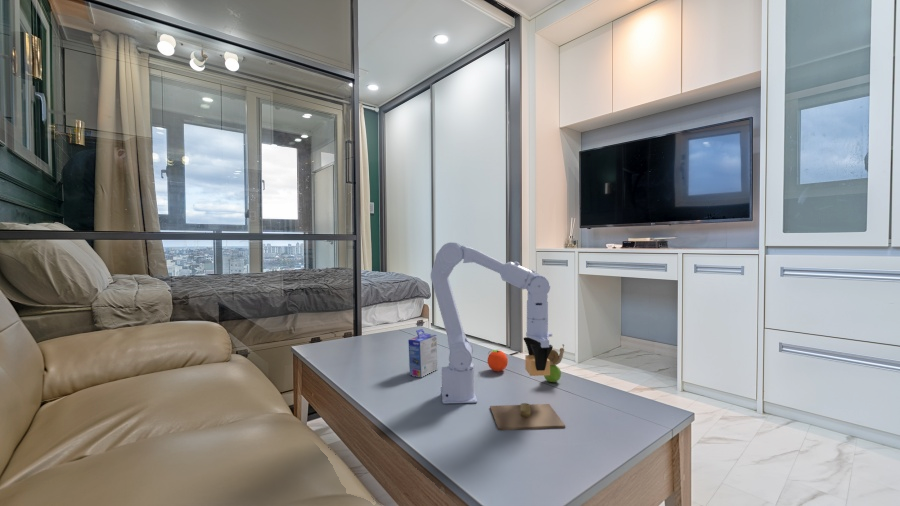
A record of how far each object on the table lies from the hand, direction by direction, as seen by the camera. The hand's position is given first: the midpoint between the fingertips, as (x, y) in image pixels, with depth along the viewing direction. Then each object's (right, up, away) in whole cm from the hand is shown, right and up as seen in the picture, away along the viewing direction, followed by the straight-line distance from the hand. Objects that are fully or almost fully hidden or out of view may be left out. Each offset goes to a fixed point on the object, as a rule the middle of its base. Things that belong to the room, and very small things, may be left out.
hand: (537, 366), depth 105 cm
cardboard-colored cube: (0, -2, 0) cm, 2 cm away
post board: (-5, -10, -10) cm, 15 cm away
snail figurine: (+8, -9, +14) cm, 18 cm away
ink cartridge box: (-33, -9, +23) cm, 42 cm away
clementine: (-8, -9, +25) cm, 28 cm away
